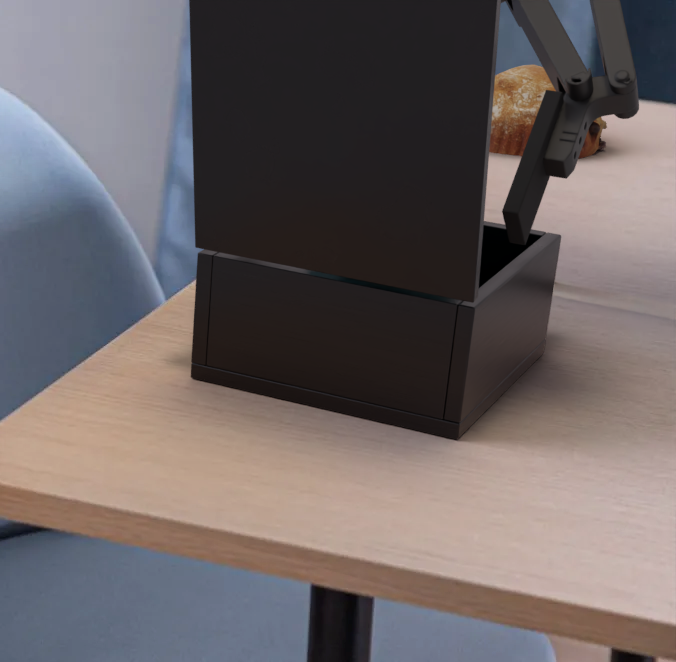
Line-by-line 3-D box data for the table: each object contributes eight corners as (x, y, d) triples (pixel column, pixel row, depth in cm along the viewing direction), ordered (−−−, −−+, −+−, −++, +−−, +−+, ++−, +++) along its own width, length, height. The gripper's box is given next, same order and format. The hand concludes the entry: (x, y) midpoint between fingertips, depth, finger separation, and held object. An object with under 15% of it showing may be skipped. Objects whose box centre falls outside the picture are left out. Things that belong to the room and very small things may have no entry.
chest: (301, 303, 96) (311, 189, 94) (544, 353, 91) (562, 234, 88) (189, 378, 85) (197, 252, 83) (457, 440, 80) (474, 308, 77)
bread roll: (503, 179, 136) (473, 78, 134) (631, 141, 130) (601, 35, 128) (457, 207, 128) (424, 100, 127) (590, 168, 122) (558, 56, 121)
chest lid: (193, -62, 75) (187, -57, 74) (503, -25, 69) (498, -20, 69) (200, 242, 83) (194, 247, 82) (478, 297, 77) (473, 303, 77)
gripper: (769, -84, 86) (644, 292, 80) (302, -127, 96) (162, 204, 91) (770, -197, 79) (634, 204, 74) (269, -231, 90) (116, 119, 84)
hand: (374, 205), depth 82 cm, fingers open, 13 cm apart
